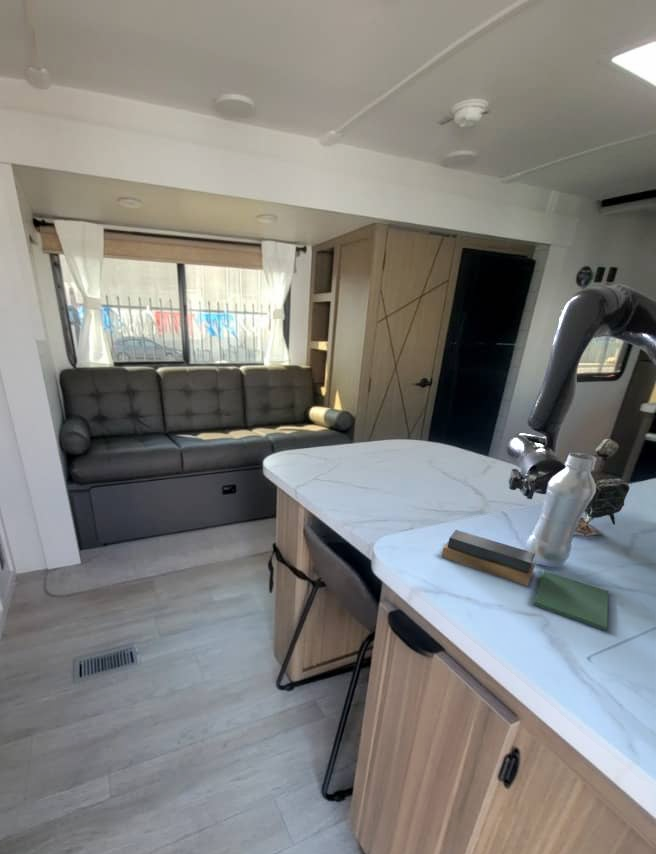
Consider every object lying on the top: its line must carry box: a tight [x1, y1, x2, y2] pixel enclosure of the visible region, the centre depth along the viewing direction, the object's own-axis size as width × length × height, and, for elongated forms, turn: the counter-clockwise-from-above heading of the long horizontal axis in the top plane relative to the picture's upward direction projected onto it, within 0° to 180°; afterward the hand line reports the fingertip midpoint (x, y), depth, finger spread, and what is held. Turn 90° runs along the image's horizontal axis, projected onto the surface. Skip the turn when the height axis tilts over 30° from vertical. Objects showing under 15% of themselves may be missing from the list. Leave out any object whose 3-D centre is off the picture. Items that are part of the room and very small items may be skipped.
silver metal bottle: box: [524, 452, 597, 568], centre depth 69 cm, size 6×7×20 cm
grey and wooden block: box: [440, 529, 536, 587], centre depth 71 cm, size 14×5×4 cm, turn 53°
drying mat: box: [533, 570, 609, 631], centre depth 64 cm, size 9×11×1 cm
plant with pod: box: [574, 438, 631, 537], centre depth 81 cm, size 8×11×20 cm
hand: (558, 498), depth 72 cm, fingers open, 8 cm apart
